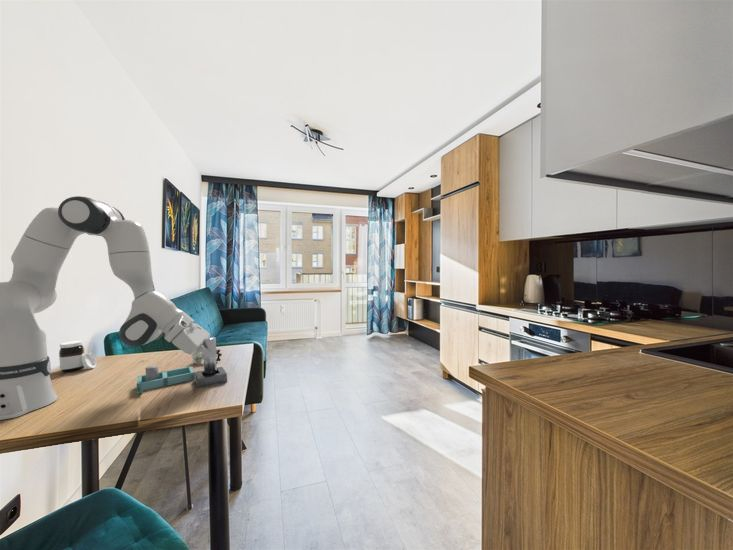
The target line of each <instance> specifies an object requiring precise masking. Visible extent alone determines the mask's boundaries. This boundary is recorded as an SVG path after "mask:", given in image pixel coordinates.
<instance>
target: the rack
mask: <svg viewBox="0 0 733 550" xmlns="http://www.w3.org/2000/svg"><path fill="white" fill-rule="evenodd" d="M195 372H196V371H195V369H194V367H193V365H192V366H190V365H189V366H185V367H180V368H175V369H174V368H173V369H169V370H164V371H159V366H158V365H150V366H147V367H145V374H144V375H143V374H142V375H138V376H137V379H136V394H137V395H140V394H139V393H141V394H143V391H145V390H151V389H155V388H156V389H157V388H160V387H164V386H166V387H167V386H170V385H175V384H180V383H184V382H188V381H189V382H190V381H195Z"/></svg>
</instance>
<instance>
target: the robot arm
mask: <svg viewBox="0 0 733 550" xmlns="http://www.w3.org/2000/svg"><path fill="white" fill-rule="evenodd" d="M83 234H87V235H89V236H96V237H97V236H98V237H102V238H103V239H104V241H105V242H106V246H107V255H108V261H109V265H110V268H111V271H112V273H113V274H114V277H117V278H118V280H121V281H122V282H124V284H126V285H127V286H128V287H129V288H130V289H131V291H132V294H133V297H134V299H133V300H132V302H131V307H130V308H131V309H130V311H129V314H128V316H127V318H126V319H125V321H124V322H123V324H122V325H121V326H120V328H119V330H118V331H119V332H118V335H119V339H120V341H121V342H122V343H123V344H124V345H126V346H129V347H133V348H135V347H136V348H137V347H141V346H144V345H146V344H149V343H151V342H155V341H157V340H160V339H161V338H162V337H163V336H164V339H165V340H166V342H168V343H172V344H173V345H174V346H175V347H176V348H178V349H179V350H181V351H182V352H183V353H185V354H187V355H192V354H193V352H194V351H195V350H197V351H198V352H200V353H202V354H204V355H206V356H207V357H208V356H210V355H211V353H212V351H210V350H209V349H207V348H205V347H204V346H203V342H204V340H203V339H204V338H209V337H211V333H209V331H208V330H206V329H205V328H204V327H202V326H201V325H199V324H198V323H194V322H195V319H194V318H192V317H191V316H190V315H188V313H186V312H185V311H184V310H181V309H180V308H178V307H177V306H176V305H175V303H174V302H173V301H172V300H170V298H169V297H166V296H165V295H164V294H162V293H160V292H158V291H156V290H155V289H156V288H155V285H154V284H155V283H154V281H153V273H152V260H151V254H150V253H151V252H150V247H149V242H148V238H147V235H146V232H145V230H144V227H143V225H141V223H139V222H137V221H134V220H131V219H125V217H124V215H123V213H122V212H121V211H120V210H119V209H117V208H116V207H114V206H111V205H109V204H108V203H105V202H103V201H100V200H95V199H93V198H91V197H87V196H80V195H79V196H70V197H68V198H66V199H64V200H62V202H61V203H60V204H59V206H58V207H46V208H44V209H41V211H40V212H39V213H37V215H36V216H35V217H34V218H33V219H32V221H31V222H30V223H29V224H28V226H27V228H26V229H25V231H24V232H23V234H22V236H21V238H20V239H19V242H18V243H17V246H16V247H15V249H14V250H13V252H12V255H11V256H10V257H11V258H10V259H11V260H10V261H11V262H12V266H13V267H12V268H13V269H12V275H11V277H10V279H9V281H4V282H3V281H2V282H0V421H1V420H7V419H14V418H18V417H21V416H23V415H25V414H28V413H30V412H33V411H35V410H36V411H37V410H38V409H42V408H43V407H46V406H48V405H50V404H53V403H54V402H56V401H57V400H58V395H57V393H56V392H55V389H54V387H53V384H52V380H51V372H52V371H51V370H52V367H51V360H50V356H48V347H47V334H46V331H44V330H43V329H41V327H40V326H39V324H38V321H37V319H36V318H35V314H37V313H40V312H43V311H44V310H46V309H49V307H51V306H52V305H54V303H55V302H56V301H57V291H56V288H57V287H56V286H57V282H58V278H59V273H60V271H61V269H62V266H63V265H64V263H65V260H66V258H67V256H68V255H69V253H70V251H71V249H72V246H73V245H74V242H75V241H76V240H77V238H78V237H79V236H81V235H83Z"/></svg>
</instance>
